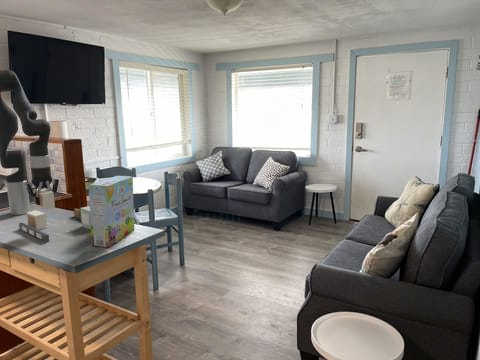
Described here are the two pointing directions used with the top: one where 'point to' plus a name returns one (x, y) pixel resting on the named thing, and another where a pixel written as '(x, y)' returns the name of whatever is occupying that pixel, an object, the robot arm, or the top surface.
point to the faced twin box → (37, 220)
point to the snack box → (111, 210)
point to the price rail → (34, 232)
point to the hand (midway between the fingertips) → (44, 203)
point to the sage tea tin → (86, 217)
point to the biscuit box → (46, 199)
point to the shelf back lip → (77, 213)
